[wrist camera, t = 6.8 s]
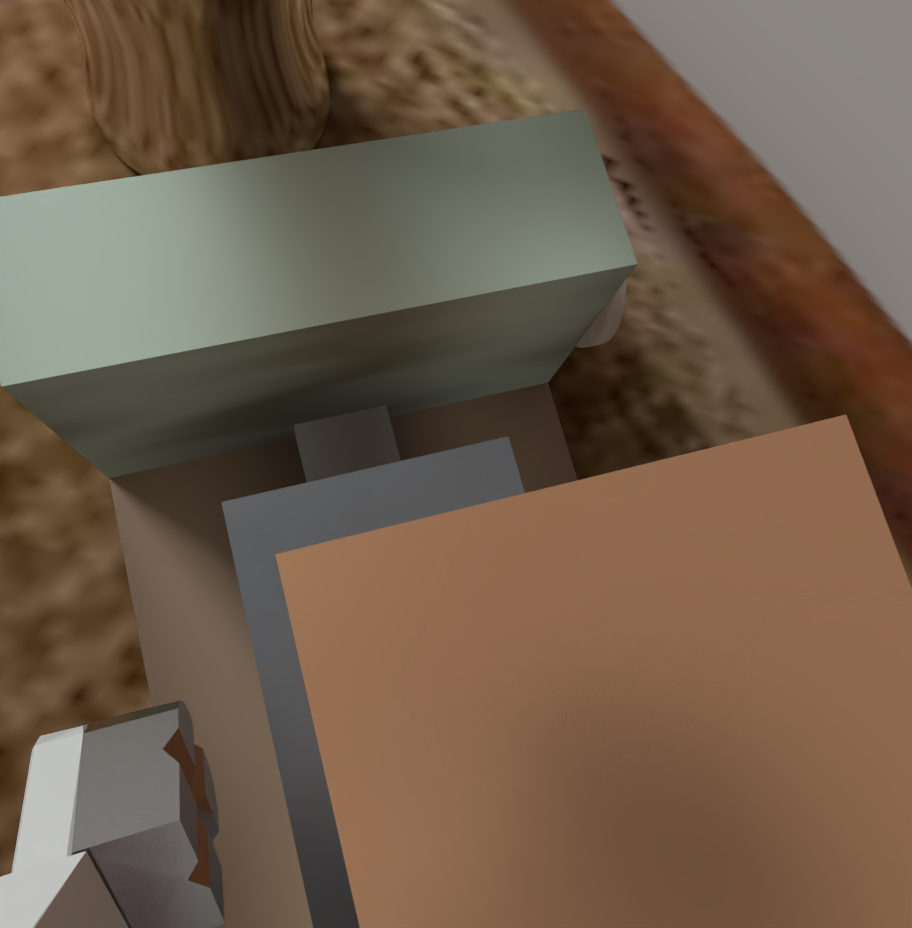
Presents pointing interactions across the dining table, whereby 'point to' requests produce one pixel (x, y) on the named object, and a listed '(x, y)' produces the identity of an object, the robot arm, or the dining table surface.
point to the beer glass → (202, 79)
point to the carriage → (590, 689)
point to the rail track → (298, 374)
